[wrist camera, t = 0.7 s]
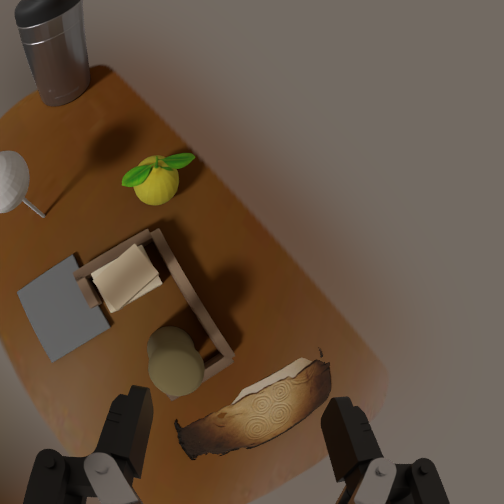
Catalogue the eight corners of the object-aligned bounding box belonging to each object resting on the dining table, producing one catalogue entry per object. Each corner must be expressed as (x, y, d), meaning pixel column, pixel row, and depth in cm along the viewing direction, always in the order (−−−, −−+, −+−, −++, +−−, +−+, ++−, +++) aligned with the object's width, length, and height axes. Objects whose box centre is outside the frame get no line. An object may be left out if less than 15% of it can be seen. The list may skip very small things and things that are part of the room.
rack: (77, 274, 29) (72, 272, 26) (156, 228, 33) (156, 223, 31) (157, 401, 29) (157, 409, 27) (232, 355, 34) (238, 359, 31)
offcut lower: (96, 275, 30) (90, 273, 27) (143, 249, 32) (141, 244, 30) (114, 311, 30) (111, 313, 27) (162, 284, 32) (162, 283, 30)
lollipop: (68, 226, 29) (19, 181, 15) (33, 247, 27) (-28, 216, 13) (55, 186, 29) (12, 127, 15) (22, 206, 27) (-33, 160, 13)
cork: (194, 325, 33) (211, 339, 22) (196, 371, 32) (214, 403, 22) (145, 325, 31) (140, 340, 20) (148, 373, 30) (146, 406, 20)
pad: (18, 292, 25) (16, 292, 25) (73, 255, 29) (72, 254, 28) (53, 361, 25) (52, 362, 25) (110, 326, 29) (110, 327, 29)
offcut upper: (98, 282, 27) (92, 280, 24) (136, 248, 29) (134, 243, 26) (120, 309, 28) (116, 311, 25) (158, 275, 30) (158, 273, 27)
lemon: (187, 180, 35) (200, 142, 26) (172, 220, 34) (179, 191, 24) (142, 164, 33) (141, 122, 24) (124, 203, 32) (115, 169, 23)
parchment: (321, 344, 39) (324, 345, 38) (339, 394, 38) (342, 396, 37) (165, 419, 30) (165, 422, 29) (198, 469, 29) (199, 472, 28)
